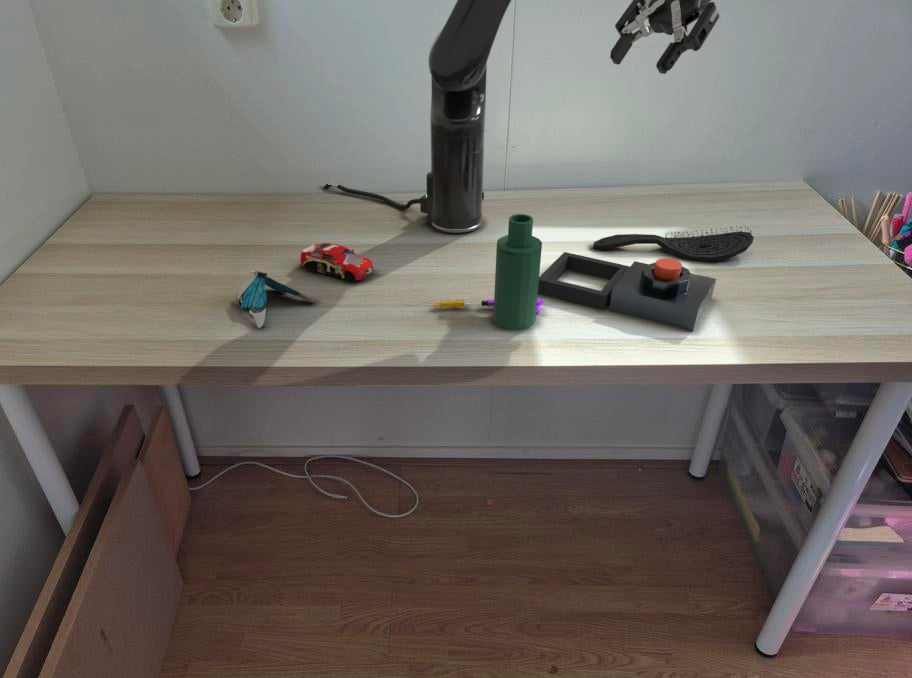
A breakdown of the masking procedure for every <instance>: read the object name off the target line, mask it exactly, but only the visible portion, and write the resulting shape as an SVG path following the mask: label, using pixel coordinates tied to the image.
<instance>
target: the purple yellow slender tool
mask: <svg viewBox="0 0 912 678" xmlns="http://www.w3.org/2000/svg"><path fill="white" fill-rule="evenodd" d="M465 305H481V307H494V299H486V300H485V299H483V300H481V302H465V299H456V300H440V301H434V307H440V308H458V309H459V308H462V309H463V308H465ZM542 305H544V299H542V298H540V297H537V307H536V314H540V312H541V311H540V310H541V309H540V306H542Z"/></svg>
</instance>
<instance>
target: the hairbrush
mask: <svg viewBox="0 0 912 678" xmlns="http://www.w3.org/2000/svg"><path fill="white" fill-rule="evenodd" d="M729 228H730V231H729V232H728V230H727V227H726V228H725V230H722V229H723V228H722V227H721V228H720V230H721V233H717V231H718V230H717V228H716V229H715V232H713V229H712V228H711V229H710V231H711V233H710V234H709V232H708V231H707V229H705V234H706V235H704V232H703V230H701V229H700V232H701V234H700V235H699V233H697V232H698V230H693V233H695V232H696V233H695V234H696V236H695V235H692V236H690V233H689V232H688V231H686V234H687V236H683V234H685V232H684V231H682V233H681V232H680V231H678V232H677V234H676V231H675V232H674V235H672V234H673V231H672V232H671V233H670V232H668V233H665V236H661V235H658V234H646V233H645V234H642V233H625V234H614V235H609V236H606V237H601V238H600V239H598V240H595V241H594V242H593V250H598V251H599V250H602V251H606V250H611V249H616V248H621V247H627V246H632V245H658V246H659V247H660V248H662V249H664V250H665V251H667V252H669V253H671V254H672V255H675V256H677V257H679V258H680V259H685V260H689V261H692V262H698V263H699V262H700V263H715V262H719V261H726V260H730V259H732V258H734V257H736V256H738V255H740V254H743V253H745V252H746V251H747V250H748V249H749V247H751V246H752V244H753V241H754V236H753V234H752V230H751V229H750V227H748V226H746V225H745V227H744V229H747V230H749V231H742V230H741V229H742V226H739V227H738V225H737V226H736V227H735V228H736V231H734V229H733V226H730V227H729ZM737 228H739V229H737ZM738 230H739V231H738ZM723 231H724V232H723ZM680 233H681V234H680ZM714 233H715V234H714ZM669 234H671V237H668V235H669ZM677 235H679V237H677ZM672 236H673V237H672Z"/></svg>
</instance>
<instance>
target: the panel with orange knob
mask: <svg viewBox="0 0 912 678" xmlns="http://www.w3.org/2000/svg"><path fill="white" fill-rule="evenodd" d="M629 266H630V267H629V269H628V270H627V271H626V272H625V274H624V275H623V276H622V277H621V278H620V280H619V281H618V282H617V283H616V285H615V286H614V287H613V288H612V293H611V300H610V303H609V305H608V306H609V307H608V311H609V312H613V313H617V314H620V315H624V316H628V317H629V316H630V317H633V318H637V319H641V320H645V321H648V322H653V323H657V324H660V325H665V326H668V327H672V328H676V329H679V330H680V329H681V330H684V331H687V332H693V333H694V331H695V329H696V327H697V326H698V324H699V322H700V320H702V319H701V318H703V315H704V313H705V312H706V311H707V308H708V306H709V305H710V304H711V302H712V299H713V294H714V290H715V286H716V283H717V278H715V277H710V276H705V275H700V274H697V273H691V271H690V269H689V268H687V267H685V266H684V265H682V268H681V273H680V277H679V278H677V279H663V278H659V277H657V276H655V275H654V274H653V272H654V267H655V262H652V263H645V262H640V261H635V260H634V261H633V262H632V263H631V265H629Z"/></svg>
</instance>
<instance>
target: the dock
mask: <svg viewBox="0 0 912 678" xmlns="http://www.w3.org/2000/svg"><path fill="white" fill-rule="evenodd" d="M630 266H631V265H626V264H622V263H617V262H612V261H609V260H603V259H599V258H595V257H591V256H590V257H589V256H585V255H580V254H575V253H572V252H566V251H564V252H563V253H561V254H560V255H559V257H558V258H557V259H556V260H555V261H554V262H553V263H552V264H551V265H550V266H549V267H547V268H546V270H544V271H543V272H542V273H541V274H540V275H539V284H538V295H541V296H544V297H548V298H553V299H555V300H559V301H560V300H561V301H565V302H568V303H573V304H576V305H580V306H583V307H588V308H591V309H596V310H600V311H605V310H606V308H607V307H608V306H610V300H611V293H612V288H613V287H614V286H615V285H616V283H617V282H618V281H619V280H620V278H621V277H622V276H623V275H624V274H625V272H626V271H627V270H628V269H629V267H630ZM566 271H570V272H574V273H579V274H583V275H587V276H591V277H596V278H600V279H604V280H607V281H608V282H607V283H606V284H605V285H604V287H603V288H602V289H601V290H599V289H595V288H591V287H586V286H582V285H578V284H574V283H571V282H566V281H561V280H559V279H560V278H561V277H562V276H563V275H564V274H565V273H566Z"/></svg>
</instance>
